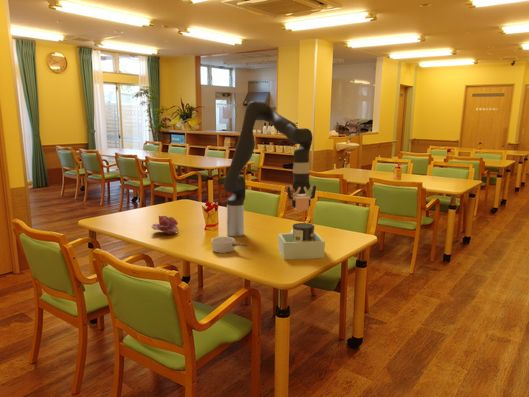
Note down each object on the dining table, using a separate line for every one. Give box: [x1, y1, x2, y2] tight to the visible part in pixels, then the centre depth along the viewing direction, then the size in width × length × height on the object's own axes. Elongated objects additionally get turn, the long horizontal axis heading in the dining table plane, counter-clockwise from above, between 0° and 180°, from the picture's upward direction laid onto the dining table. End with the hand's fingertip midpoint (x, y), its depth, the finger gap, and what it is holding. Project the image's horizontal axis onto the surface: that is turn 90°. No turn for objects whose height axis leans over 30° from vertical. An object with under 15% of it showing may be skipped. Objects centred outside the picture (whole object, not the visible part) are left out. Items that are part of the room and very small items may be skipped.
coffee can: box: [292, 222, 315, 242], centre depth 197 cm, size 10×10×14 cm
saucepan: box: [210, 236, 248, 254], centre depth 200 cm, size 12×20×6 cm, turn 56°
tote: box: [277, 232, 326, 260], centre depth 198 cm, size 19×15×8 cm
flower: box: [151, 215, 179, 235], centre depth 231 cm, size 15×15×10 cm
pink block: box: [293, 193, 310, 212], centre depth 194 cm, size 6×6×7 cm
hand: (301, 207), depth 194 cm, fingers closed on pink block, 6 cm apart
